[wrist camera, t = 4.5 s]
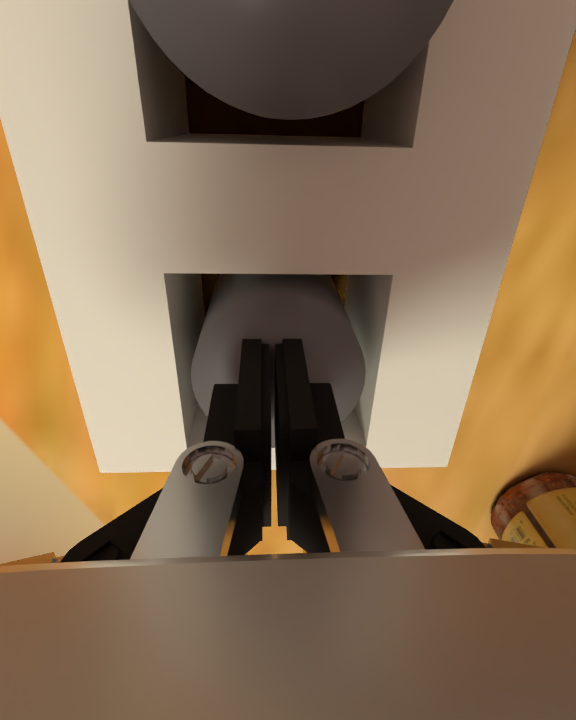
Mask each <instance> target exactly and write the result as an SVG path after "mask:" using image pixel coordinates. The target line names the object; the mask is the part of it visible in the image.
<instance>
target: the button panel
mask: <svg viewBox="0 0 576 720" xmlns="http://www.w3.org/2000/svg"><path fill="white" fill-rule="evenodd" d="M575 29H576V0H454V1H453V3H452V5H451V6H450V8H449V10H448V12H447V14H446V15H445V17H444V19H443V21H442V23H441V24H440V26H439V27H438V29H437V30H436V32H435V33H434V34H433V36H432V37H431V39H430V40H429V42H428V43H427V45H426V46H425V47H424V48H423V50H422V51H421V52H420V53H419V54H418V55H417V57H416V58H415V59H414V60H413V61H412V62H411V63H410V65H409V66H408V67H407V68H406V69H405V70H404V71H402V72H401V73H400V74H399V75H398V76H397V77H396V78H395V79H394V80H393V81H391V82H390V83H389V84H388V85H386V86H385V87H384V88H382V89H381V90H379V91H378V92H377V93H375V94H374V95H372V96H371V97H369V98H367V99H365V100H364V110H363V120H362V130H361V137H322V136H282V135H241V134H200V133H189V124H188V112H187V100H186V89H185V77H184V73H183V72H182V71H181V70H180V69H179V68H178V67H177V66H176V65H175V64H174V63H173V62H172V61H171V60H170V59H169V58H168V57H167V56H166V54H165V53H164V52H163V51H162V49H161V48H160V47H159V46H158V44H157V43H156V42H155V41H154V39H153V38H152V37H151V35H150V34H149V32H148V31H147V29H146V28H145V26H144V24H143V23H142V21H141V20H140V18H139V17H138V15H137V13H136V12H135V10H134V8H133V6H132V4H131V2H130V0H0V118H1V122H2V125H3V129H4V133H5V136H6V140H7V143H8V147H9V150H10V154H11V157H12V161H13V165H14V168H15V172H16V175H17V179H18V182H19V186H20V189H21V193H22V197H23V200H24V204H25V207H26V211H27V214H28V218H29V221H30V225H31V229H32V232H33V236H34V239H35V243H36V246H37V250H38V253H39V257H40V261H41V264H42V268H43V271H44V275H45V278H46V282H47V285H48V289H49V293H50V296H51V300H52V303H53V307H54V310H55V314H56V317H57V321H58V325H59V328H60V332H61V335H62V339H63V342H64V346H65V349H66V353H67V357H68V360H69V364H70V367H71V371H72V374H73V378H74V382H75V385H76V389H77V392H78V396H79V399H80V403H81V406H82V410H83V414H84V417H85V421H86V424H87V428H88V431H89V435H90V438H91V442H92V446H93V449H94V453H95V456H96V460H97V463H98V467H99V470H100V473H121V472H171V470H172V468H173V466H174V464H175V462H176V460H177V459H178V457H179V456H180V454H181V453H182V452H184V451H185V450H186V449H187V448H189V447H191V446H193V445H195V444H197V443H202V442H203V440H204V435H205V429H206V424H207V418H208V417H207V416H206V415H205V413H204V412H203V411H202V409H201V408H200V406H199V404H198V402H197V400H196V397H195V395H194V392H193V388H192V382H191V367H192V360H193V357H194V354H195V350H196V347H197V344H198V340H199V337H200V334H201V330H202V327H203V324H204V320H205V313H204V301H203V289H202V277H201V273H205V274H345V275H347V283H346V293H345V303H344V308H345V311H346V313H347V316H348V318H349V320H350V323H351V325H352V328H353V330H354V332H355V335H356V337H357V340H358V342H359V344H360V347H361V349H362V352H363V356H364V360H365V368H366V374H365V383H364V388H363V391H362V394H361V396H360V399H359V401H358V402H357V404H356V406H355V408H354V409H353V410H352V412H351V413H350V415H349V416H348V417H347V418H346V419H345V420H344V421H343V422H342V423H341V425H342V429H343V432H344V436H345V439H347V440H352V441H355V442H357V443H360V444H362V445H363V446H365V447H366V448H367V449H369V450H370V451H371V453H372V454H373V455H374V456H375V458H376V460H377V462H378V464H379V465H380V467H381V468H406V467H447V465H448V461H449V458H450V454H451V451H452V448H453V444H454V441H455V437H456V434H457V431H458V427H459V424H460V420H461V417H462V414H463V410H464V407H465V403H466V400H467V397H468V393H469V390H470V386H471V383H472V379H473V376H474V373H475V369H476V366H477V362H478V359H479V356H480V352H481V349H482V345H483V342H484V339H485V335H486V332H487V328H488V325H489V322H490V318H491V315H492V311H493V308H494V305H495V301H496V298H497V294H498V291H499V288H500V284H501V281H502V277H503V274H504V270H505V267H506V264H507V260H508V257H509V253H510V250H511V247H512V243H513V240H514V236H515V233H516V230H517V226H518V223H519V219H520V216H521V213H522V209H523V206H524V202H525V199H526V196H527V192H528V189H529V185H530V182H531V179H532V175H533V172H534V168H535V165H536V162H537V158H538V155H539V151H540V148H541V144H542V141H543V138H544V134H545V131H546V127H547V124H548V121H549V117H550V114H551V110H552V107H553V104H554V100H555V97H556V93H557V90H558V87H559V83H560V80H561V76H562V73H563V70H564V66H565V63H566V59H567V56H568V53H569V49H570V46H571V42H572V39H573V35H574V32H575ZM271 470H276V458H275V446H271Z"/></svg>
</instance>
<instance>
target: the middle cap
mask: <svg viewBox="0 0 576 720" xmlns="http://www.w3.org/2000/svg"><path fill="white" fill-rule="evenodd" d="M453 1H454V0H130V2H131V4H132V6H133V8H134V10H135V12H136V13H137V15H138V17H139V18H140V20H141V21H142V23H143V24H144V26H145V28H146V29H147V31H148V32H149V34H150V35H151V37H152V38H153V39H154V41H155V42H156V43H157V44H158V46H159V47H160V48H161V49H162V51H163V52H164V53H165V54H166V56H167V57H168V58H169V59H170V60H171V61H172V62H173V63H174V64H175V65H176V66H177V67H178V68H179V69H180V70H181V71H182V72H183V73H184V74H185V75H186V76H187V77H188V78H189V79H191V80H192V81H193V82H195V83H196V84H197V85H198V86H200V87H201V88H202V89H204V90H205V91H206V92H208V93H209V94H211V95H213V96H214V97H216V98H218V99H220V100H221V101H223V102H225V103H226V104H228V105H231V106H233V107H236V108H238V109H240V110H243V111H245V112H248V113H251V114H254V115H258V116H262V117H266V118H273V119H285V120H296V119H311V118H316V117H321V116H326V115H331V114H334V113H336V112H339V111H342V110H345V109H347V108H350V107H352V106H354V105H356V104H358V103H360V102H362V101H364V100H365V99H367V98H369V97H371V96H372V95H374V94H375V93H377V92H378V91H379V90H381V89H382V88H384V87H385V86H386V85H388V84H389V83H390V82H391V81H393V80H394V79H395V78H396V77H397V76H398V75H399V74H400V73H401V72H402V71H404V70H405V69H406V68H407V67H408V66H409V65H410V63H411V62H412V61H413V60H414V59H415V58H416V57H417V55H418V54H419V53H420V52H421V51H422V50H423V48H424V47H425V46H426V45H427V43H428V42H429V40H430V39H431V37H432V36H433V34H434V33H435V32H436V30H437V29H438V27H439V26H440V24H441V23H442V21H443V19H444V17H445V15H446V14H447V12H448V10H449V8H450V6H451V5H452V3H453Z"/></svg>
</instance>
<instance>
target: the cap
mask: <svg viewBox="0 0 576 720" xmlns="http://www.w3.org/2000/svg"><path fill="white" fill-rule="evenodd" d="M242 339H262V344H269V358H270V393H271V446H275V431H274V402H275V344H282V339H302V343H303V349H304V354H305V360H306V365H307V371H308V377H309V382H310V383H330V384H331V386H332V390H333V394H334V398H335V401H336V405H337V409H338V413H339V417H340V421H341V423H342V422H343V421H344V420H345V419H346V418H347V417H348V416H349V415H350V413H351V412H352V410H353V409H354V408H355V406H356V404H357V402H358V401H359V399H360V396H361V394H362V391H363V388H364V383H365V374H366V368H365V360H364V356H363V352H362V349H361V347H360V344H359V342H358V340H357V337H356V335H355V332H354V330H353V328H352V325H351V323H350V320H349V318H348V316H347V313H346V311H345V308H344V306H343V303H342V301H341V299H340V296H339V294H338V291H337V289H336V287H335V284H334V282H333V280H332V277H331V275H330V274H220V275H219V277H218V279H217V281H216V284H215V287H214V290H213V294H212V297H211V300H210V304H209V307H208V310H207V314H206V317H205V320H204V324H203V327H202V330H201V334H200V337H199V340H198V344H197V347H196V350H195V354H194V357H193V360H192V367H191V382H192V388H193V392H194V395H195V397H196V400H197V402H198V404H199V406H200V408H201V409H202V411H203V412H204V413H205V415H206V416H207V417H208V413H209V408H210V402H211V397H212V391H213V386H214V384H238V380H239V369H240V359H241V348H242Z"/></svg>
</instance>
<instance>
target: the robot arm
mask: <svg viewBox="0 0 576 720" xmlns="http://www.w3.org/2000/svg"><path fill="white" fill-rule="evenodd" d="M274 431H275V458H276V484H277V511H278V526H287V540H292V541H294V542H295V543H296V544H297V545H299V546H300V547H301V548H302V549H304V550H303V553H296V554H266V555H248V554H247V552H248V551H249V550H250V549H252V548H253V547H254V546H255V545H256V544H257V543H258V542H259V541H262V527H268V526H271V393H270V358H269V344H262V339H242V348H241V359H240V369H239V380H238V384H214V386H213V391H212V397H211V402H210V408H209V413H208V418H207V424H206V429H205V435H204V440H203V442H202V443H197V444H195V445H193V446H191V447H189V448H187V449H186V450H185V451H184V452H182V453H181V454H180V456H179V457H178V459H177V460H176V462H175V464H174V466H173V468H172V470H171V472H170V475H169V477H168V479H167V481H166V483H165V485H164V487H163V488H162V489H161V490H159V491H157V492H156V493H154V494H153V495H151V496H150V497H148V498H147V499H145V500H144V501H142V502H140V503H139V504H137V505H136V506H134V507H133V508H131V509H130V510H128V511H127V512H125V513H123V514H122V515H120V516H119V517H117V518H116V519H114V520H113V521H111V522H110V523H108V524H106V525H105V526H103V527H102V528H100V529H99V530H97V531H96V532H94V533H93V534H91V535H89V536H88V537H86V538H85V539H83V540H82V541H80V542H79V543H78V544H77V545H75V546H74V547H73V548H72V549H70V550H69V551H68V552H67V554H66V555H65V556H61V557H57V558H56V556H55V554H54V552H52V553H48V554H43V555H39V556H34V557H30V558H26V559H21V560H17V561H12V562H8V563H3V564H0V720H576V549H568V548H545V547H539V546H533V545H527V544H521V543H515V542H509V541H503V540H498V539H492V538H490V539H489V542H488V544H487V543H482V542H481V541H480V540H479V539H478V538H477V537H476V536H474V535H473V534H472V533H470V532H469V531H468V530H466V529H465V528H463V527H461V526H459V525H458V524H456V523H454V522H453V521H451V520H449V519H448V518H446V517H444V516H442V515H441V514H439V513H437V512H436V511H434V510H432V509H431V508H429V507H427V506H426V505H424V504H422V503H420V502H419V501H417V500H415V499H414V498H412V497H410V496H409V495H407V494H405V493H403V492H402V491H400V490H398V489H397V488H395V487H393V486H392V485H390V484H389V482H388V480H387V478H386V476H385V475H384V473H383V471H382V469H381V467H380V465H379V464H378V462H377V460H376V458H375V456H374V455H373V454H372V453H371V451H370V450H369V449H367V448H366V447H365V446H363V445H362V444H360V443H357V442H355V441H352V440H347V439H345V436H344V432H343V429H342V425H341V421H340V417H339V413H338V409H337V405H336V401H335V398H334V394H333V390H332V386H331V384H330V383H310V382H309V377H308V371H307V365H306V360H305V354H304V349H303V343H302V339H282V344H275V402H274Z"/></svg>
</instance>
